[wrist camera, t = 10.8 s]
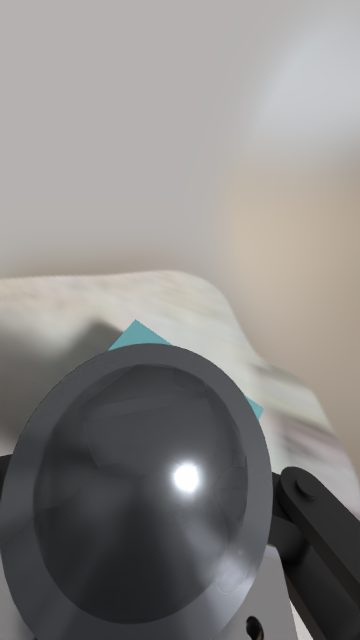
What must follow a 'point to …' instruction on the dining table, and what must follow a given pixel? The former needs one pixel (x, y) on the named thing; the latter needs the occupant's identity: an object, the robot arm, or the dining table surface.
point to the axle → (136, 500)
